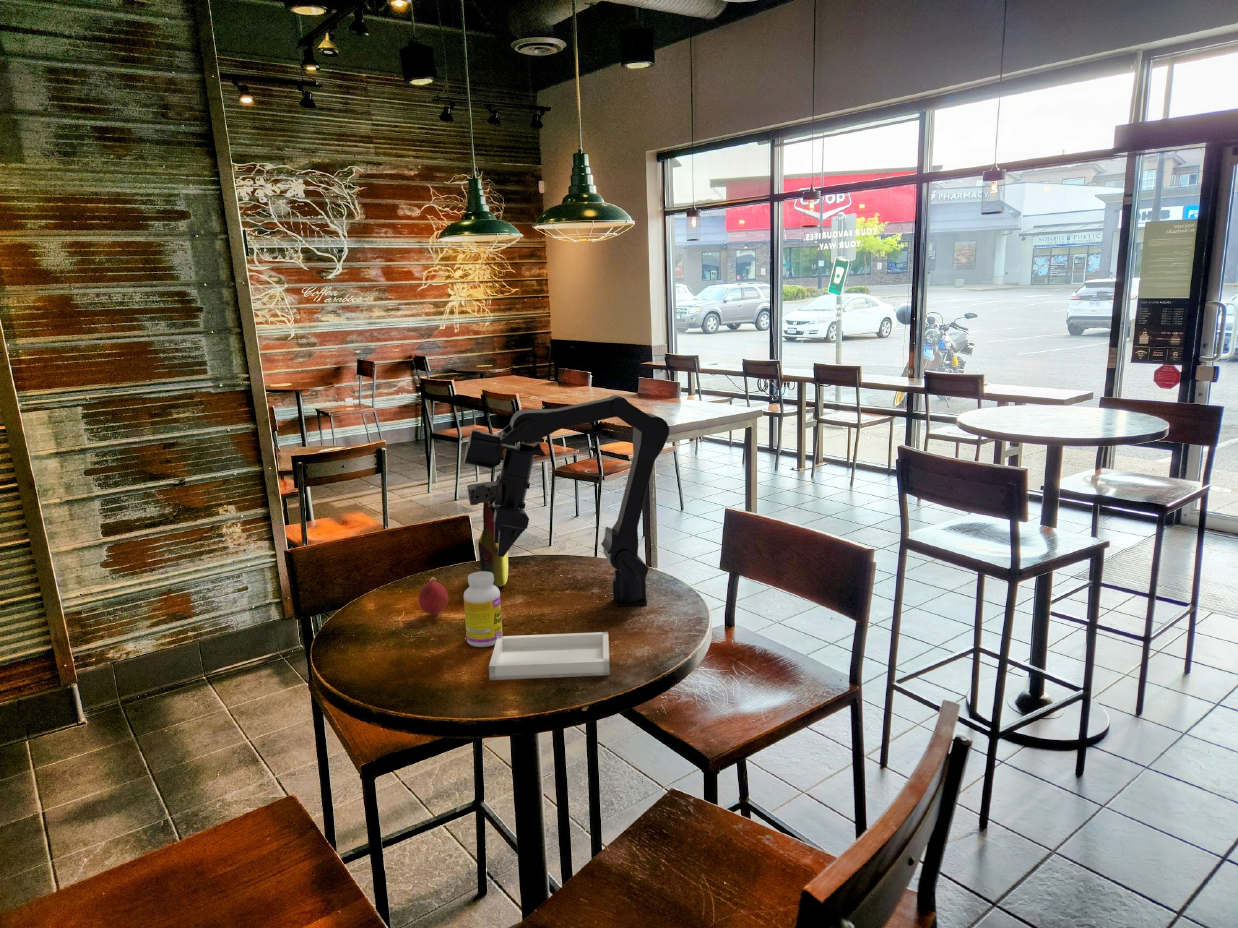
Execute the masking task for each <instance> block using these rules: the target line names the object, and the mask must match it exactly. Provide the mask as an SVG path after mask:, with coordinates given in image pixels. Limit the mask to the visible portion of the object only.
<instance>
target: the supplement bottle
mask: <svg viewBox="0 0 1238 928" xmlns="http://www.w3.org/2000/svg"><path fill="white" fill-rule="evenodd" d="M493 581H494V575H493V573H491V572H486V571H481V570H480V571H475V572H471V573H470V574H468V575H467V584H468V586H469V587H467V588H466V589H465V590H464V592H463V605H464V620H465V621H464V622H465V633H466V634H465V635H466V642H467V643H468V644H469V645H470V646H471V647H475V648H488V647H493V646H495V644H496V640H497V637H498V636H503V620H502V605H501V592H500V589H499V587H498V586H494V585H493Z"/></svg>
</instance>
